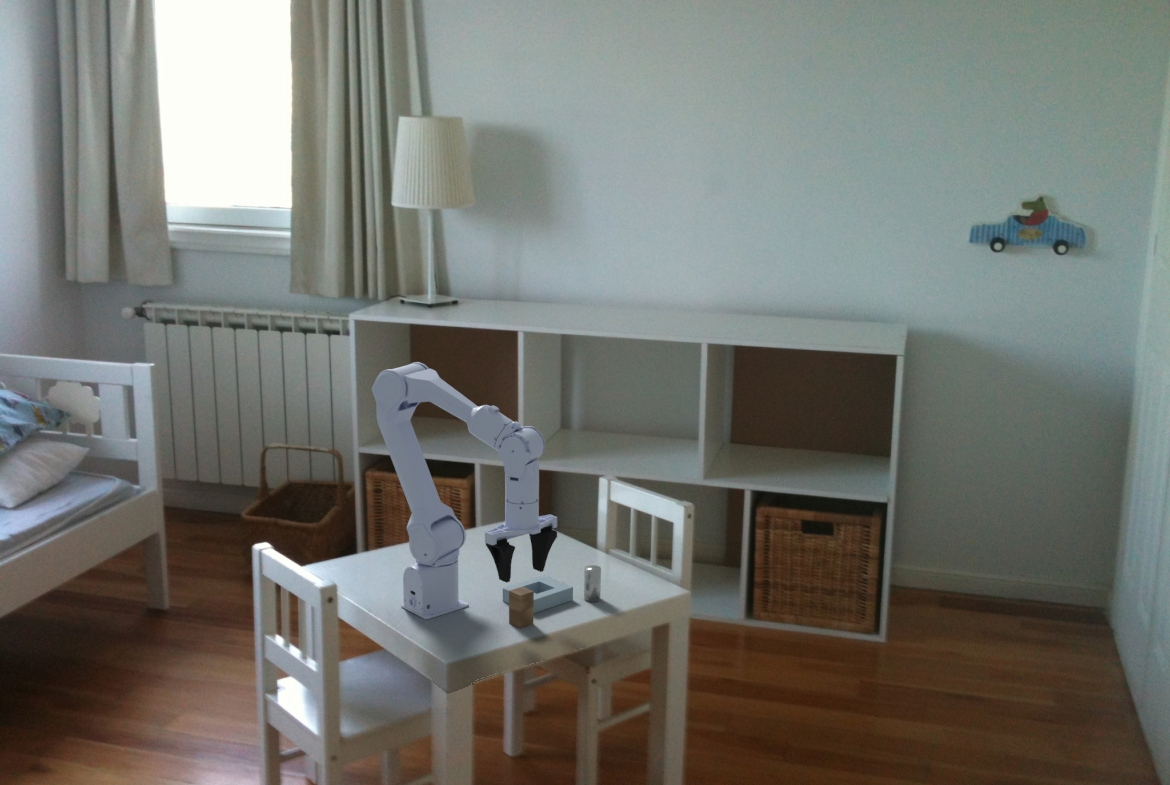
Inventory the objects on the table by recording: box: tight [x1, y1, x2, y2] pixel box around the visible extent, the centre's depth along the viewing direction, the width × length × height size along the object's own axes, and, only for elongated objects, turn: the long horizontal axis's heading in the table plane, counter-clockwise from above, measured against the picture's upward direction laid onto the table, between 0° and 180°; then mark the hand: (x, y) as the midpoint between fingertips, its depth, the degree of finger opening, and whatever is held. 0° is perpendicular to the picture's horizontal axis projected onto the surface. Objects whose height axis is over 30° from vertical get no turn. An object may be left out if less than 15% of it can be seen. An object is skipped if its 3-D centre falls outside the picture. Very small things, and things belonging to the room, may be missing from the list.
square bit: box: [508, 587, 535, 629], centre depth 196 cm, size 3×3×6 cm
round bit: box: [583, 564, 602, 603], centre depth 208 cm, size 3×3×6 cm
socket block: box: [502, 574, 574, 614], centre depth 207 cm, size 10×8×2 cm
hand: (521, 575), depth 195 cm, fingers open, 7 cm apart
